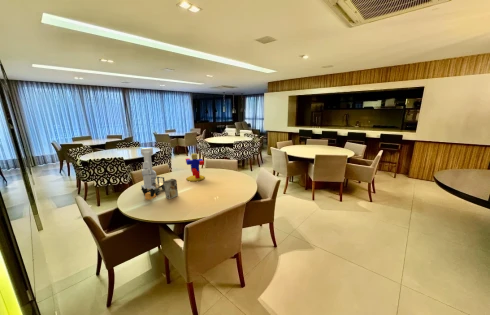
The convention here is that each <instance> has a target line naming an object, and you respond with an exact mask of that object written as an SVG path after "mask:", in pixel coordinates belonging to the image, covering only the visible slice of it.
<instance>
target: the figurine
mask: <svg viewBox="0 0 490 315" xmlns="http://www.w3.org/2000/svg"><path fill="white" fill-rule="evenodd" d="M190 156H191V159H190V158H185V163H186V165H187V166H189V165H190V170H191V173H192V175H190V176H187V178H186V179H185V180H186V181H187V182H189V181H190V183H198V182H202V181H205V179H206V176H205V175H201V173H200V166H204V165H205V161H204V159H203V158H198V154H197V153H191V154H190ZM197 181H198V182H197Z"/></svg>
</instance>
